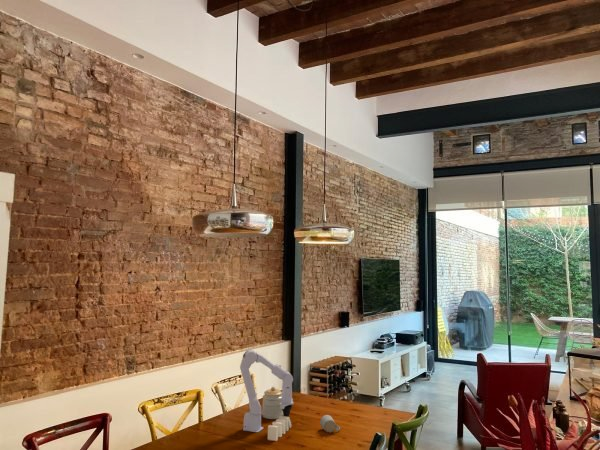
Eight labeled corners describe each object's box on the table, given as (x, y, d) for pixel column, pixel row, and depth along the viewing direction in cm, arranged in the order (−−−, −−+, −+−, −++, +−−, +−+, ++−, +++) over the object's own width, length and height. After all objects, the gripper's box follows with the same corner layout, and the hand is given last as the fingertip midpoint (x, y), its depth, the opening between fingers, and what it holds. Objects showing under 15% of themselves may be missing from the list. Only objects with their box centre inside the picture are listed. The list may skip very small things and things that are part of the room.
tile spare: (267, 439, 245) (267, 426, 245) (269, 438, 246) (269, 424, 247) (276, 441, 243) (276, 427, 244) (277, 439, 245) (278, 426, 245)
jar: (280, 420, 276) (280, 390, 278) (259, 418, 279) (260, 388, 280) (285, 413, 289) (285, 385, 290) (265, 412, 291) (266, 383, 293)
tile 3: (275, 432, 255) (275, 419, 256) (277, 431, 257) (277, 418, 258) (284, 434, 253) (284, 420, 254) (285, 432, 255) (285, 419, 256)
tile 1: (282, 427, 264) (280, 418, 261) (283, 424, 266) (281, 415, 263) (290, 428, 263) (288, 419, 260) (291, 425, 264) (289, 417, 261)
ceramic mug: (324, 433, 255) (324, 419, 256) (319, 428, 263) (320, 414, 263) (342, 432, 257) (342, 418, 258) (337, 427, 265) (337, 414, 266)
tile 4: (272, 435, 250) (272, 422, 251) (273, 434, 252) (273, 421, 253) (280, 437, 249) (280, 423, 249) (282, 435, 250) (282, 422, 251)
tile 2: (279, 429, 260) (278, 417, 259) (280, 428, 262) (279, 416, 261) (287, 431, 258) (286, 419, 258) (288, 429, 260) (288, 417, 259)
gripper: (288, 398, 257) (288, 423, 256) (297, 391, 271) (297, 415, 269) (277, 396, 259) (276, 421, 258) (286, 390, 273) (286, 414, 272)
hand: (286, 418), depth 264 cm, fingers closed
